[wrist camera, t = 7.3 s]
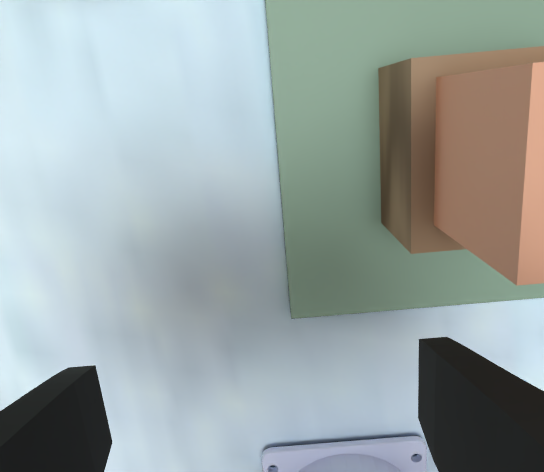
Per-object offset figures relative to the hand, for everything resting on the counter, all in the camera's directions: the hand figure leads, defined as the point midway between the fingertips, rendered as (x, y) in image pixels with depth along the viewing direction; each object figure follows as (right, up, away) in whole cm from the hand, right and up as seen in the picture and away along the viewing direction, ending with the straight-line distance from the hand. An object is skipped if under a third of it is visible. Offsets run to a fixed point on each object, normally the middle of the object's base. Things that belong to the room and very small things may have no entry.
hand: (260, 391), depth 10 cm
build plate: (+8, +7, +8) cm, 13 cm away
